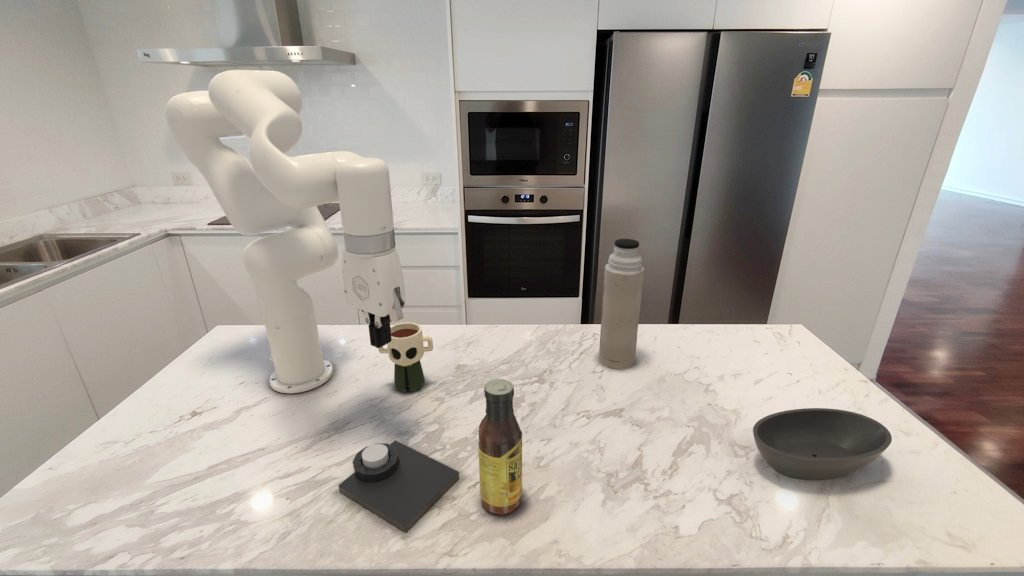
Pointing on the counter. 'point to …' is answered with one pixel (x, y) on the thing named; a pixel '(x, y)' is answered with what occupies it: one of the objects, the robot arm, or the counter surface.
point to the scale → (399, 485)
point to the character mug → (407, 354)
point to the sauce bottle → (500, 450)
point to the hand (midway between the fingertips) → (381, 343)
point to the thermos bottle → (621, 305)
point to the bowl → (819, 442)
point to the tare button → (375, 456)
